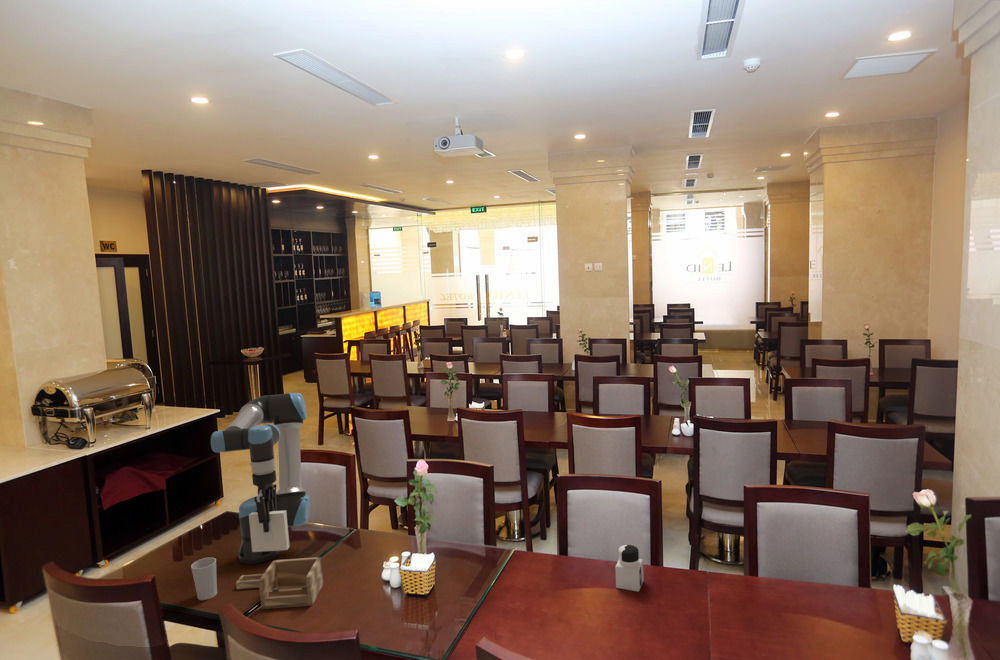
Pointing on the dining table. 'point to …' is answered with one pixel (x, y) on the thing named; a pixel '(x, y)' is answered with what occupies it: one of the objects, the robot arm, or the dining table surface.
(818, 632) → the dining table surface
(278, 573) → the wooden box
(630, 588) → the container
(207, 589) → the cup
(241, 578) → the small wooden tray
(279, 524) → the white square slab
